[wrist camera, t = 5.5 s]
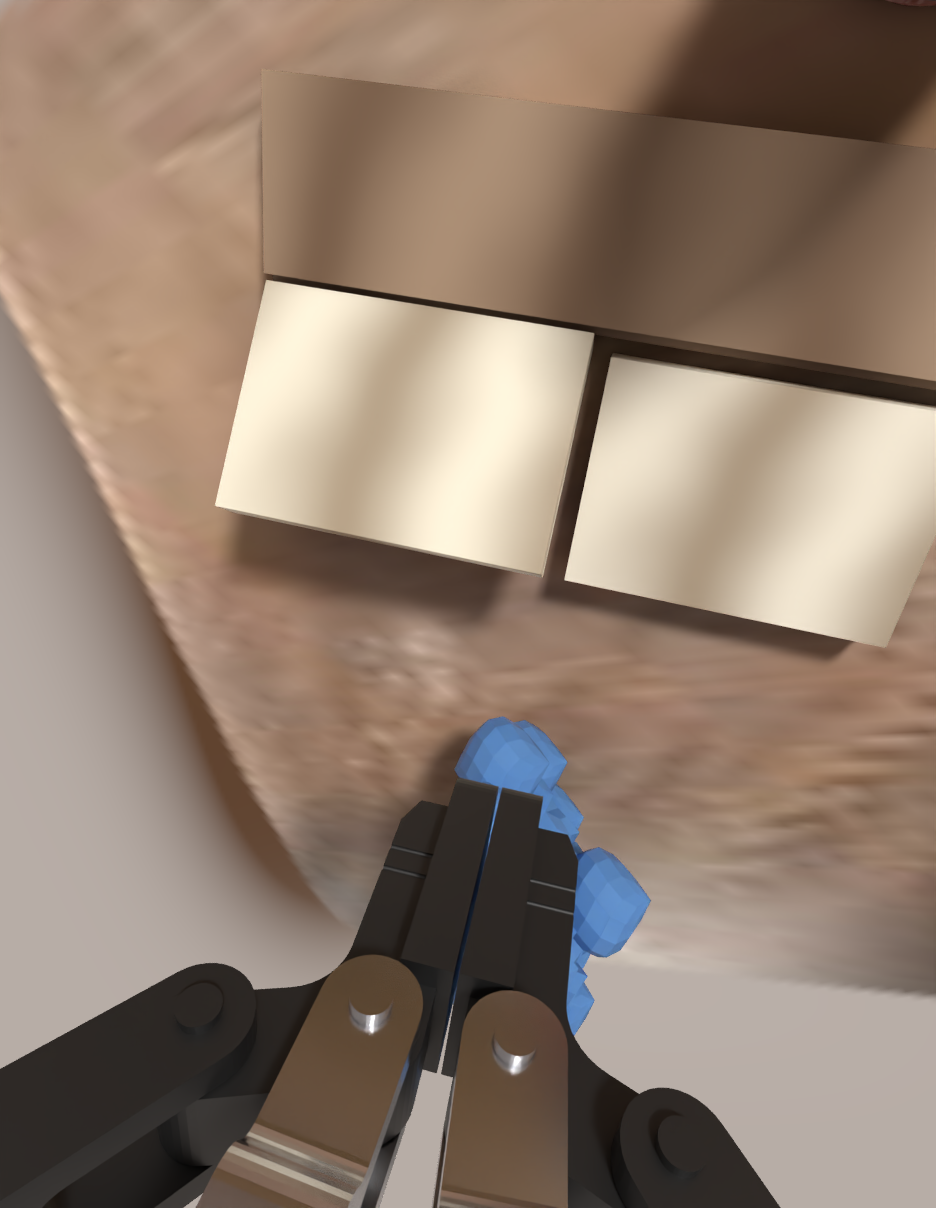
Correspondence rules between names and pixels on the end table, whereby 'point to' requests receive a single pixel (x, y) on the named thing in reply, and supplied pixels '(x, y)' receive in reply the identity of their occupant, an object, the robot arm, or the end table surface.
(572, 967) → the grapes
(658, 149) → the laid plank
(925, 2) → the supplement bottle
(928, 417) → the plank
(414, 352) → the plank
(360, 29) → the end table surface
